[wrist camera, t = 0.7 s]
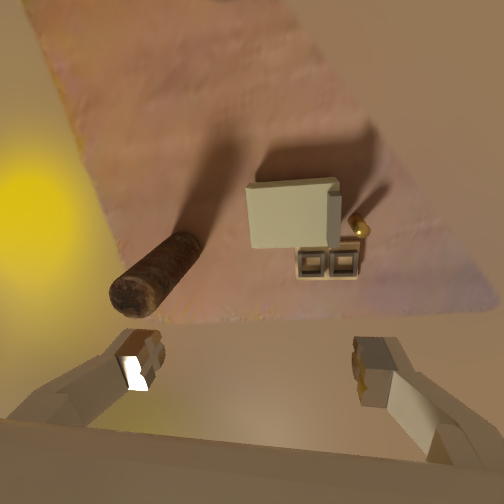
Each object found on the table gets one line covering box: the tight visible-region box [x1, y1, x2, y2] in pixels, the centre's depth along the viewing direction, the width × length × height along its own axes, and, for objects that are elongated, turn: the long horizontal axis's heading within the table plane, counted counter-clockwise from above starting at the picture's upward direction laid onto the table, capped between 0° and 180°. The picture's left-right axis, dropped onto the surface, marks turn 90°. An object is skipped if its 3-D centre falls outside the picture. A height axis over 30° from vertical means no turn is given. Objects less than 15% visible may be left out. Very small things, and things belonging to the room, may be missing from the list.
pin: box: [348, 214, 370, 238], centre depth 45 cm, size 2×2×6 cm
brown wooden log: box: [109, 233, 201, 318], centre depth 46 cm, size 8×7×20 cm
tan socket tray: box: [295, 240, 360, 280], centre depth 51 cm, size 8×12×2 cm, turn 96°
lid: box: [246, 177, 342, 248], centre depth 43 cm, size 11×15×9 cm
